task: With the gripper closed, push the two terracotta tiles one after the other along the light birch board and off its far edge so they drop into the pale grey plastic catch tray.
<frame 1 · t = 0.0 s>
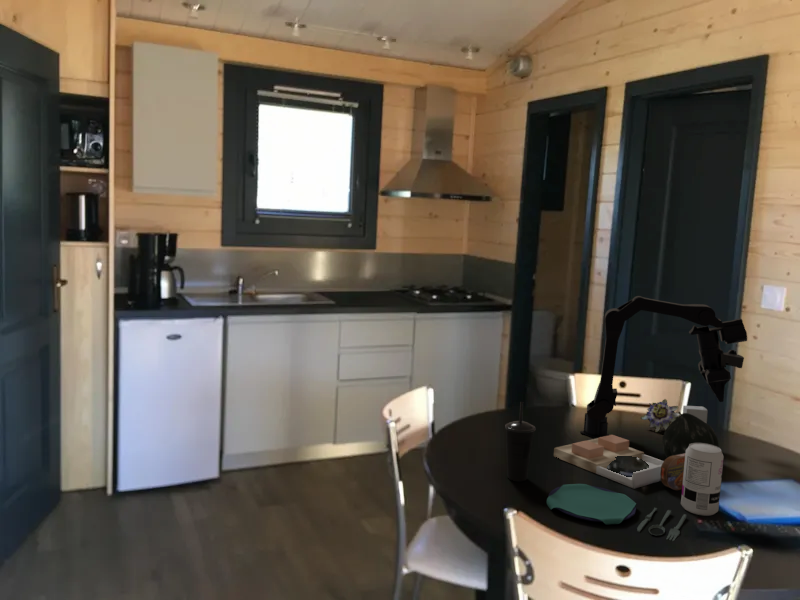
hand: (718, 397, 213), 15 cm above the table, tool pointing down, fingers open, 9 cm apart
passion flower: (662, 430, 232), on the table
cutlery set: (612, 516, 164), on the table
snack packet: (682, 486, 183), on the table
drinking cup: (517, 478, 183), on the table
catch tray: (638, 474, 190), on the table
near tile: (587, 453, 197), point 2 cm above the table, touching board
board: (598, 458, 201), on the table
squash: (688, 462, 201), on the table
far tile: (613, 447, 203), point 2 cm above the table, touching board
supplement can: (699, 510, 168), on the table
skincare box: (691, 446, 216), on the table
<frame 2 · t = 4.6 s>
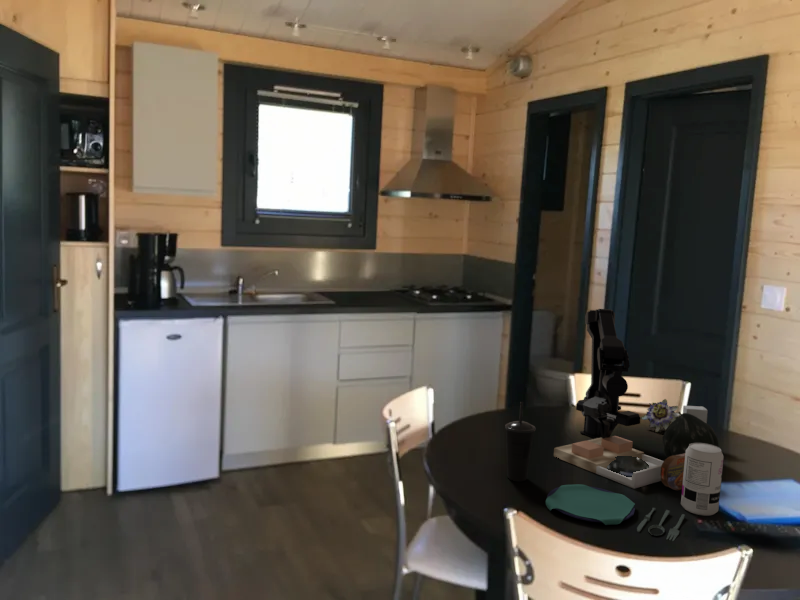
hand: (605, 441, 205), 4 cm above the table, tool pointing down, fingers closed
far tile: (616, 448, 202), point 3 cm above the table, touching gripper
everything else where it was.
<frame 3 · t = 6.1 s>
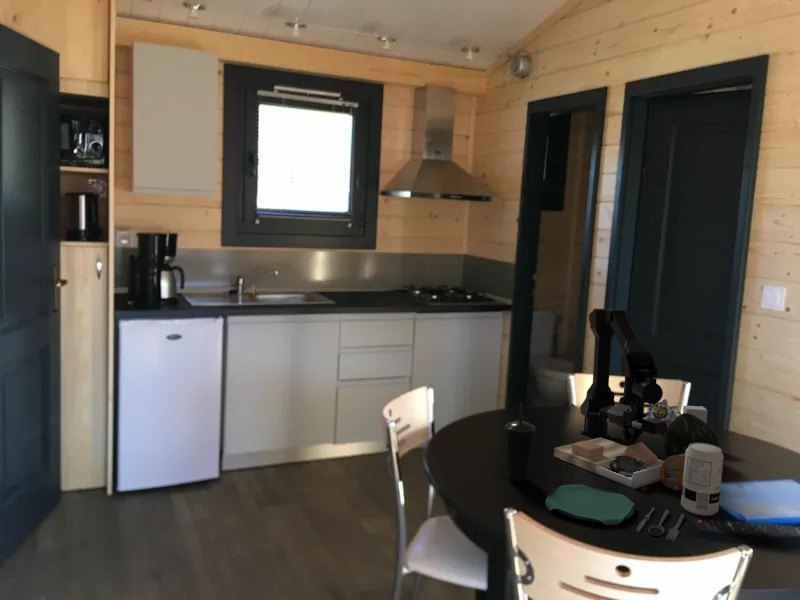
hand: (629, 449, 198), 4 cm above the table, tool pointing down, fingers closed
far tile: (638, 457, 197), point 2 cm above the table, tilted 27°, touching gripper
everything else where it was.
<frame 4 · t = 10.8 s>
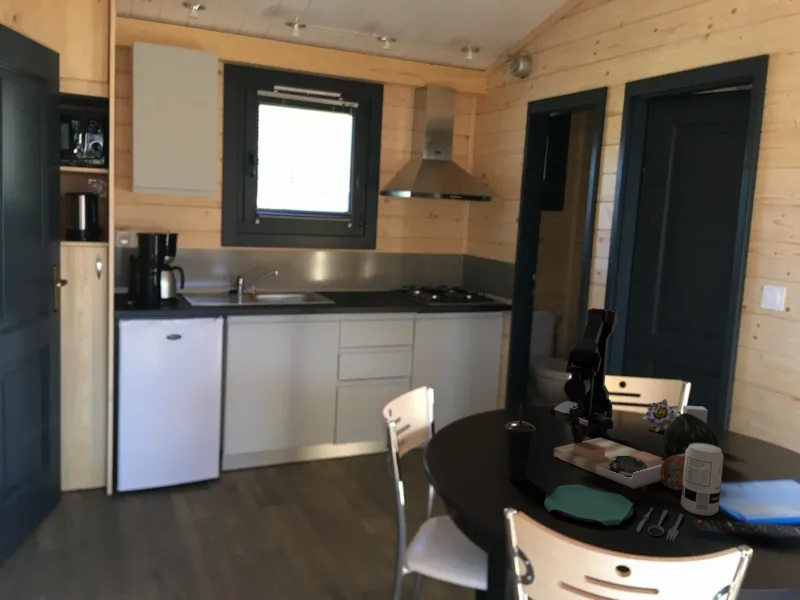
hand: (577, 446, 199), 4 cm above the table, tool pointing down, fingers closed
near tile: (588, 454, 196), point 2 cm above the table, touching board, gripper
far tile: (645, 465, 195), point 1 cm above the table, touching catch tray
everything else where it was.
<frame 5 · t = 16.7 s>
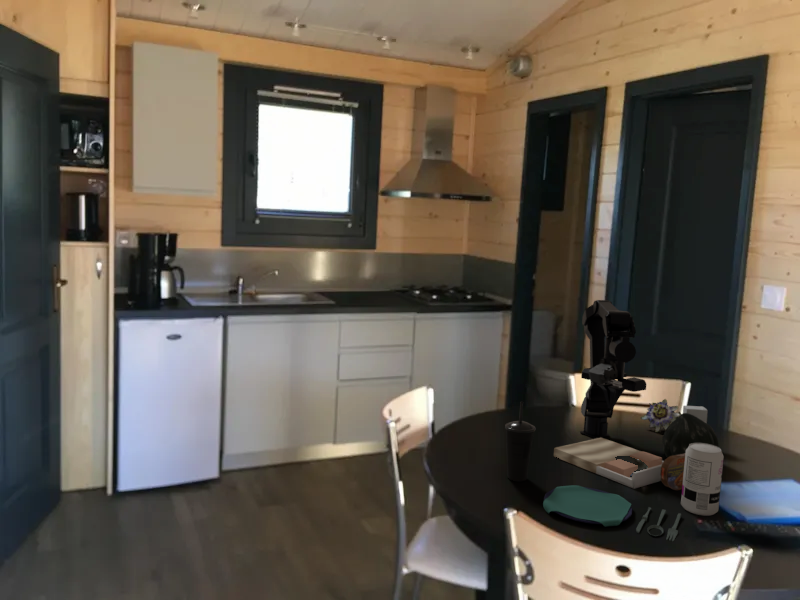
hand: (610, 408, 205), 13 cm above the table, tool pointing down, fingers closed
near tile: (620, 473, 188), point 1 cm above the table, touching catch tray
at the end: far tile inside the target area on the catch tray (6.7 cm from its centre), point 0.6 cm above the catch tray's base; near tile inside the target area on the catch tray (5.7 cm from its centre), point 0.6 cm above the catch tray's base; near tile touching catch tray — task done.
